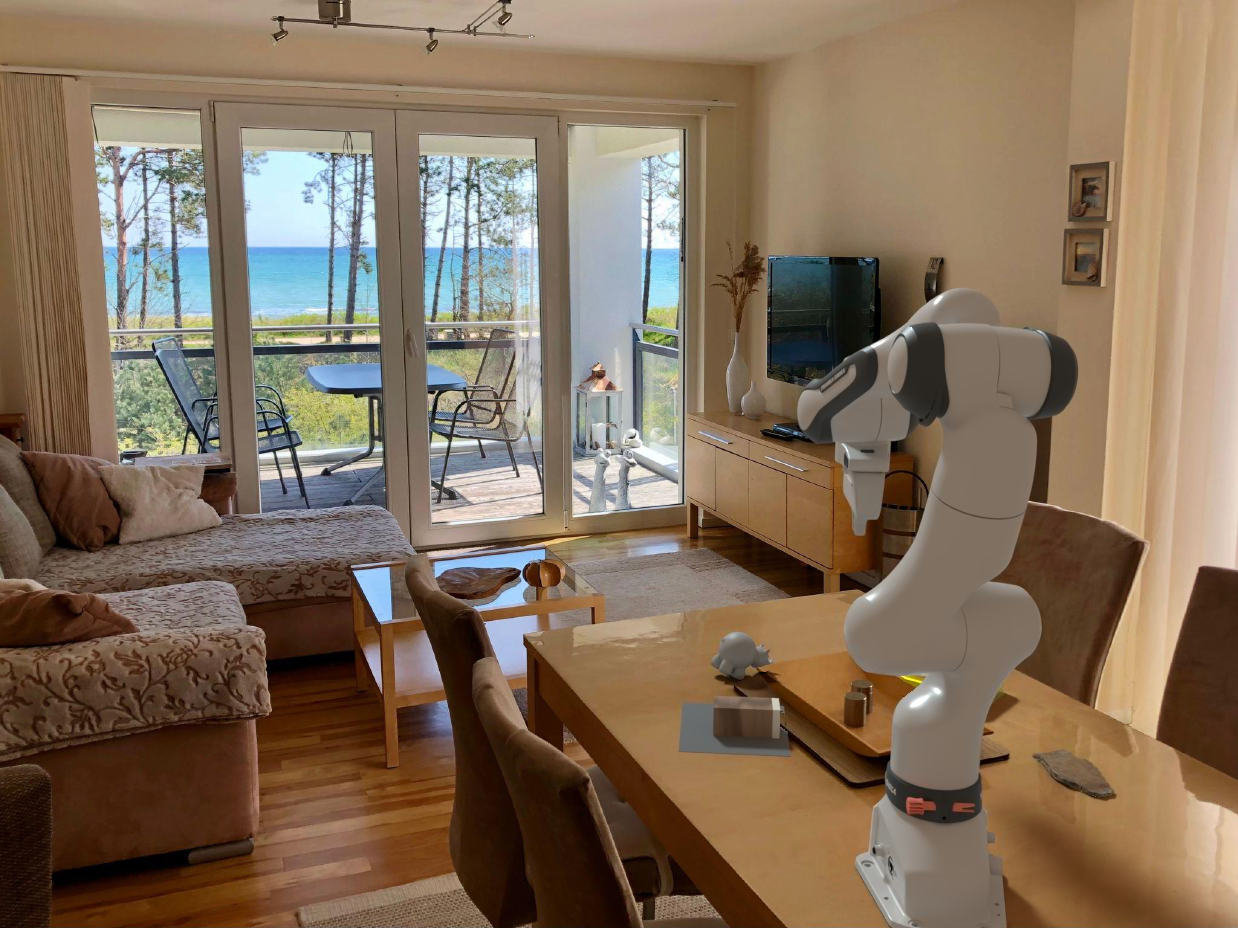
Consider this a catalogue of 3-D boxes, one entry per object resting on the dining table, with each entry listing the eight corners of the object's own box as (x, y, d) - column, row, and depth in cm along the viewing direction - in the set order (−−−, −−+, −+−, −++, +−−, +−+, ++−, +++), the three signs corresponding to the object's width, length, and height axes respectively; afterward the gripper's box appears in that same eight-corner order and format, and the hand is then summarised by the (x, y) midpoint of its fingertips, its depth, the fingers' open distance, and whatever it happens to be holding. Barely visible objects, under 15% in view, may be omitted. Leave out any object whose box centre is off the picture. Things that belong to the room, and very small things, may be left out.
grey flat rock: (1070, 754, 180) (1071, 744, 180) (1124, 800, 165) (1125, 789, 164) (1024, 756, 179) (1025, 746, 179) (1075, 803, 164) (1076, 792, 163)
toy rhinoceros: (772, 692, 210) (789, 651, 210) (718, 676, 206) (735, 634, 206) (756, 678, 217) (773, 638, 217) (704, 662, 213) (721, 622, 212)
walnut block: (713, 735, 184) (779, 738, 183) (713, 707, 183) (780, 710, 182) (713, 723, 189) (777, 725, 188) (713, 695, 188) (778, 698, 187)
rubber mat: (790, 759, 177) (790, 756, 177) (678, 754, 178) (678, 751, 178) (783, 708, 196) (783, 706, 196) (682, 704, 198) (682, 702, 198)
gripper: (836, 440, 191) (833, 518, 193) (850, 462, 171) (846, 548, 173) (873, 441, 190) (869, 519, 193) (891, 463, 170) (886, 549, 173)
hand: (858, 533), depth 183 cm, fingers closed
